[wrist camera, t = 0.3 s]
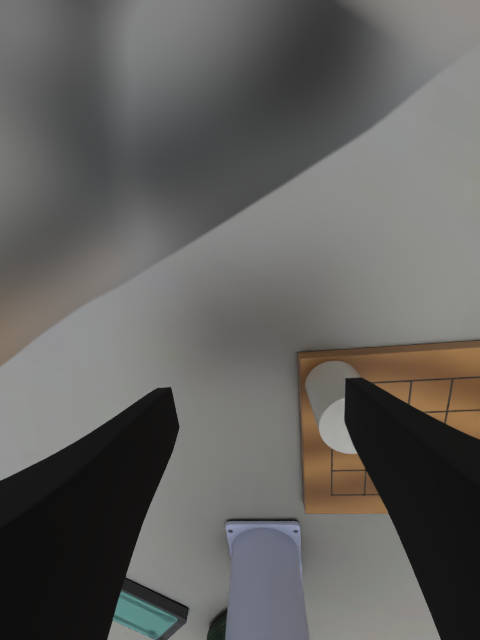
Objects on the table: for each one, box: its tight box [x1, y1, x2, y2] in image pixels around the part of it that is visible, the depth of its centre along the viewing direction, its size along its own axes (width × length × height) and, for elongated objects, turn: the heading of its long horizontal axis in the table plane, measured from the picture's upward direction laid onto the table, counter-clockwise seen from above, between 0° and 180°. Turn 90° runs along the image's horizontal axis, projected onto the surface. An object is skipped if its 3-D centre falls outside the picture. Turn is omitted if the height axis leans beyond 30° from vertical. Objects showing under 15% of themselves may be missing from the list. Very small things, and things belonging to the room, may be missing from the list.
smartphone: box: [113, 579, 188, 640], centre depth 31 cm, size 7×1×15 cm
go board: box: [298, 341, 480, 514], centre depth 21 cm, size 17×17×1 cm
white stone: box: [305, 361, 363, 454], centre depth 17 cm, size 4×4×5 cm
